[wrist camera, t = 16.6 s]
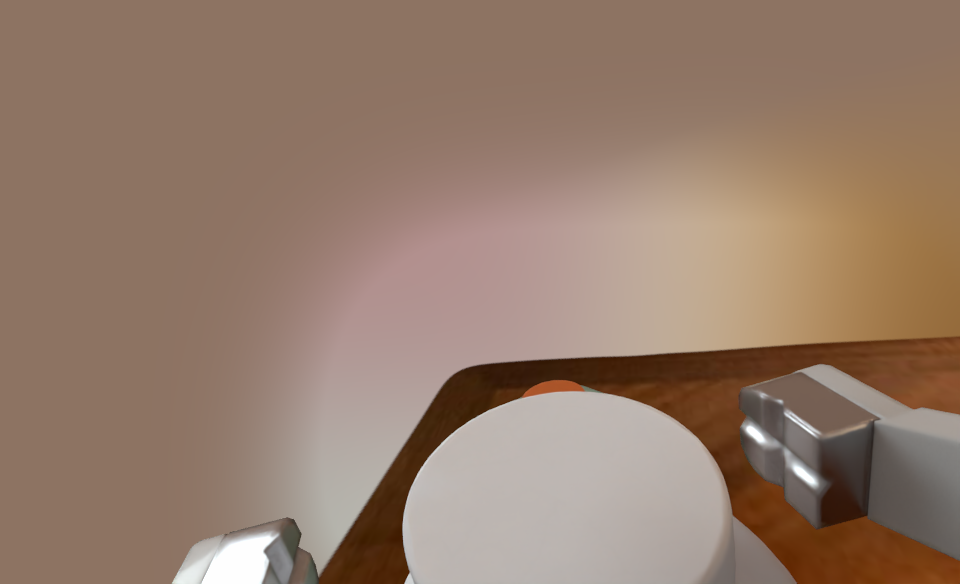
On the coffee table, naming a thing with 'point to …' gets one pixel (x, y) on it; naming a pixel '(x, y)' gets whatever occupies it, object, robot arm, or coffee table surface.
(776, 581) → the pill bottle
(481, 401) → the coffee table surface
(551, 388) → the button
